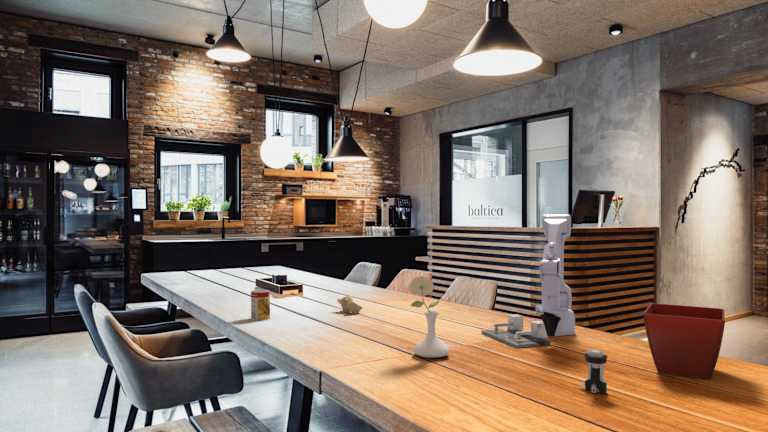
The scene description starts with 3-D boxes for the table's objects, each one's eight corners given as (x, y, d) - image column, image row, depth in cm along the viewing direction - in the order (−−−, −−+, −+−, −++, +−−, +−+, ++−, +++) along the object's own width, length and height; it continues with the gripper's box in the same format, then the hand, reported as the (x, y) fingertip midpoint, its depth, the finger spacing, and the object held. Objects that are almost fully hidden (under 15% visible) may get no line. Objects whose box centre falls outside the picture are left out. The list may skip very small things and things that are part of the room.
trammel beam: (512, 330, 204) (512, 326, 204) (550, 344, 181) (550, 340, 181) (507, 331, 203) (507, 327, 203) (545, 345, 181) (545, 340, 181)
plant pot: (725, 385, 137) (725, 319, 137) (643, 374, 147) (642, 312, 147) (725, 367, 153) (724, 308, 153) (650, 358, 164) (650, 303, 164)
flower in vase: (453, 352, 172) (452, 274, 172) (445, 362, 161) (444, 278, 161) (413, 349, 176) (413, 273, 176) (403, 358, 165) (403, 277, 165)
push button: (575, 390, 134) (575, 350, 134) (584, 385, 138) (583, 346, 138) (603, 396, 129) (602, 355, 129) (610, 391, 133) (610, 351, 133)
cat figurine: (351, 301, 238) (337, 291, 247) (344, 316, 238) (331, 305, 248) (365, 305, 243) (351, 294, 253) (359, 319, 244) (345, 308, 253)
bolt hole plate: (500, 331, 202) (500, 328, 202) (537, 346, 180) (537, 342, 180) (481, 333, 200) (481, 330, 200) (517, 348, 177) (517, 344, 177)
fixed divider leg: (517, 327, 202) (517, 314, 202) (523, 329, 199) (523, 316, 199) (491, 329, 199) (491, 316, 199) (496, 331, 195) (496, 318, 195)
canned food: (273, 318, 233) (273, 290, 233) (260, 321, 226) (260, 292, 226) (260, 316, 237) (260, 289, 237) (247, 319, 230) (247, 291, 230)
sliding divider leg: (540, 335, 188) (540, 320, 188) (547, 338, 184) (547, 322, 184) (513, 338, 185) (513, 322, 185) (519, 340, 181) (519, 325, 181)
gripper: (527, 293, 185) (528, 332, 185) (553, 299, 171) (554, 341, 171) (545, 292, 187) (545, 331, 187) (572, 297, 173) (572, 340, 173)
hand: (550, 336), depth 179 cm, fingers closed
